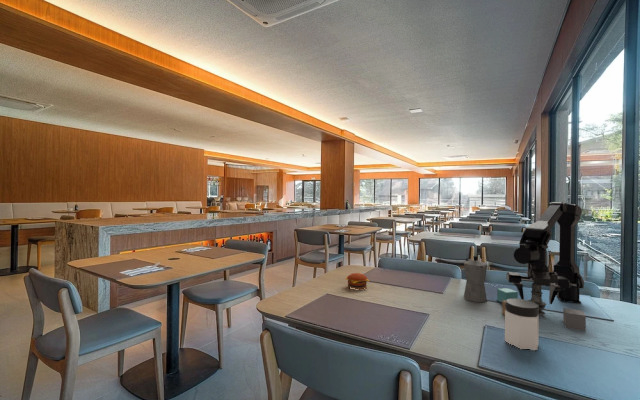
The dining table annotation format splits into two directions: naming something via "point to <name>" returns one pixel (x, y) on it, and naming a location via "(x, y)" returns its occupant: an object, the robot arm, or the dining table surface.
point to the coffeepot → (475, 280)
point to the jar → (522, 323)
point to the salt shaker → (537, 298)
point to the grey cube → (574, 319)
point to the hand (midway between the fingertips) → (536, 302)
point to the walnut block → (503, 307)
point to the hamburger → (357, 281)
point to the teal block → (506, 294)
